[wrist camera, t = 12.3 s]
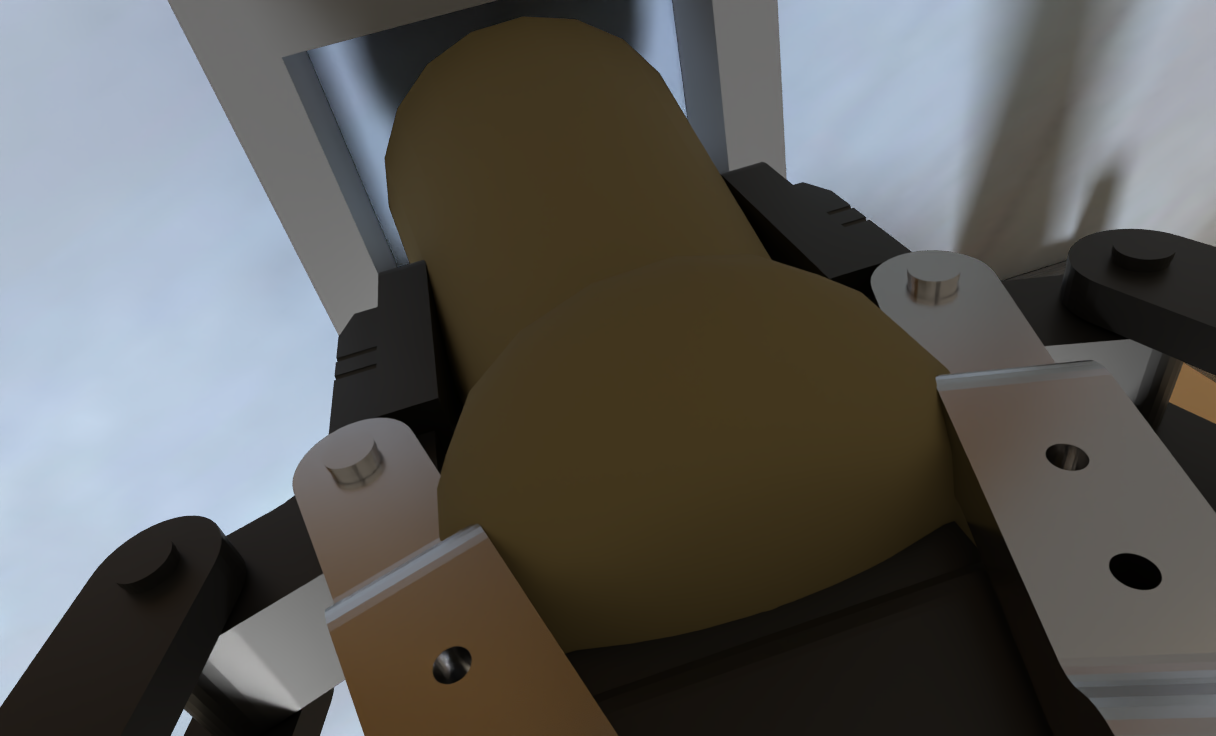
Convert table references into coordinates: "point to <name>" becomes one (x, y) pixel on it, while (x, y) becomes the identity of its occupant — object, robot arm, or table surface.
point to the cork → (644, 353)
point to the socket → (368, 3)
